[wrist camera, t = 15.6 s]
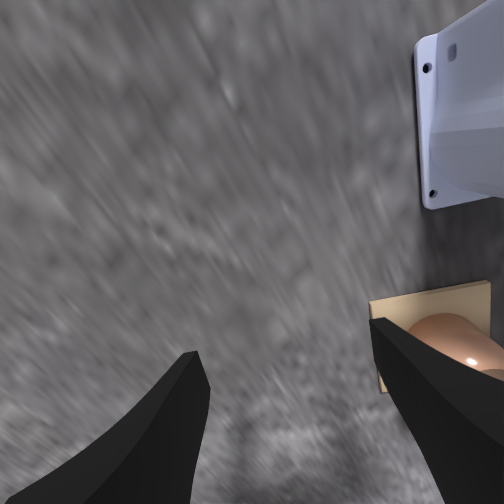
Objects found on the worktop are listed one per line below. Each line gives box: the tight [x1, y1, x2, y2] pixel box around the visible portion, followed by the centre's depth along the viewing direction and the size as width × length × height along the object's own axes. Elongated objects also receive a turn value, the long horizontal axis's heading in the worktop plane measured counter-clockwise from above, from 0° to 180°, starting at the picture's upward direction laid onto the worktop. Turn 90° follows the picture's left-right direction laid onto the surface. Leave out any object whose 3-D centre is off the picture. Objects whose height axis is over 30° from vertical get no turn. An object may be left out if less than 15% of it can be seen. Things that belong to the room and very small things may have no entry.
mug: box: [407, 313, 504, 381], centre depth 20 cm, size 9×6×5 cm, turn 13°
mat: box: [369, 280, 491, 392], centre depth 22 cm, size 8×8×1 cm
